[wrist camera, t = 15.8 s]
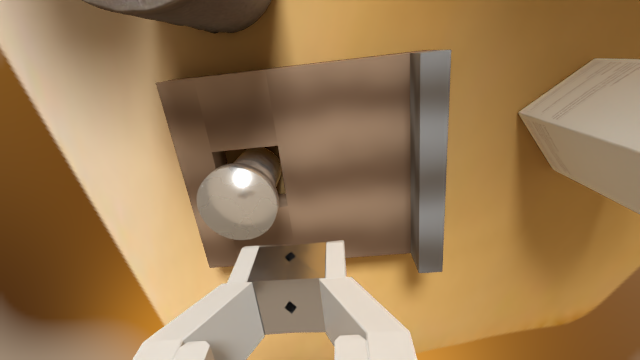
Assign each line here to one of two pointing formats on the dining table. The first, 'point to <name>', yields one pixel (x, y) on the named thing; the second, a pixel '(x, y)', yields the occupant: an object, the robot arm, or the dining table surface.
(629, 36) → the dining table surface
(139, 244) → the dining table surface
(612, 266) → the dining table surface
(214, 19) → the pillar candle
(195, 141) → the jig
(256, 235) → the frosted bulb shape
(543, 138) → the supplement box
